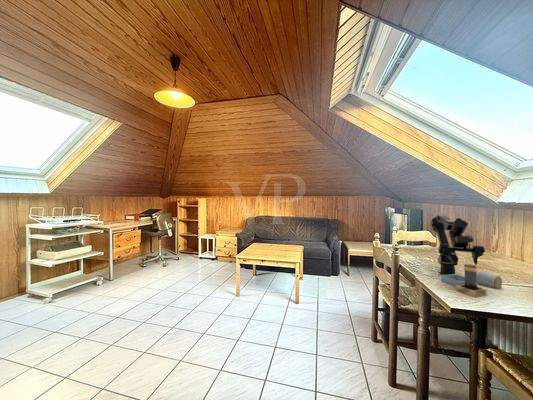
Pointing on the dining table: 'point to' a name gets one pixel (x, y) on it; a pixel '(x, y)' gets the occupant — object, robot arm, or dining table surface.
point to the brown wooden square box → (471, 291)
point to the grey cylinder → (489, 279)
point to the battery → (470, 276)
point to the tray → (453, 279)
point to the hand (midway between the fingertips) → (464, 263)
